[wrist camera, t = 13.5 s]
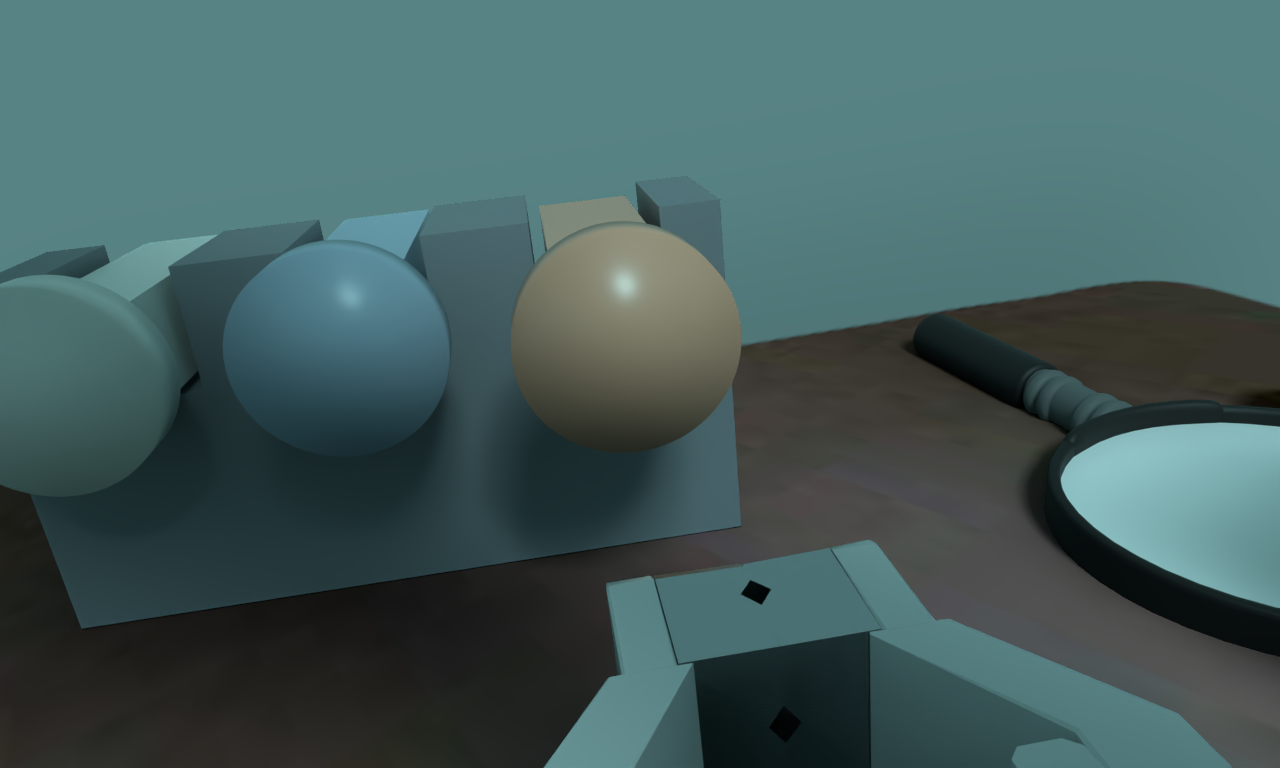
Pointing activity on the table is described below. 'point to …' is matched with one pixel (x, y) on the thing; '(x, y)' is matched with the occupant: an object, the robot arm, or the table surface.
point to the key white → (91, 371)
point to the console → (389, 479)
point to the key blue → (342, 340)
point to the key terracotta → (621, 330)
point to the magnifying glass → (1148, 488)
